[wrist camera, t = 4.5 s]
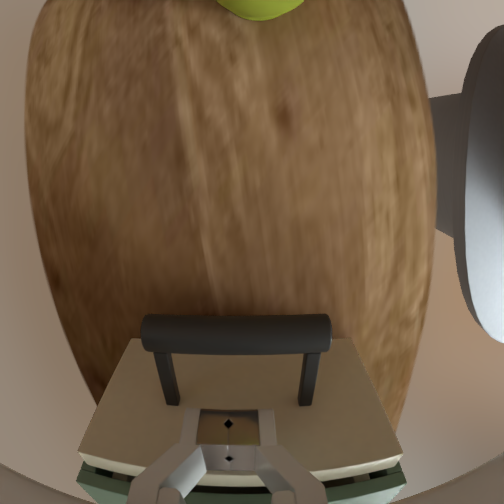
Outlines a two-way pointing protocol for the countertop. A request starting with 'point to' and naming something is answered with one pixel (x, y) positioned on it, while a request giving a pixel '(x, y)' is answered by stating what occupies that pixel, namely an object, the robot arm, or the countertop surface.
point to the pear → (259, 8)
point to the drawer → (243, 397)
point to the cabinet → (339, 498)
